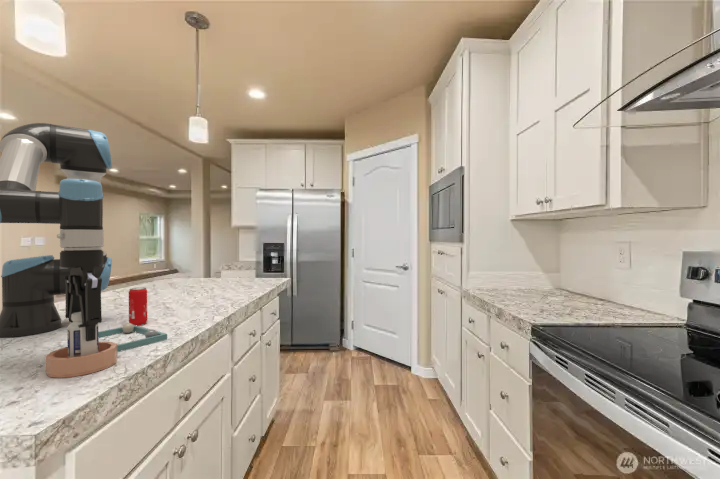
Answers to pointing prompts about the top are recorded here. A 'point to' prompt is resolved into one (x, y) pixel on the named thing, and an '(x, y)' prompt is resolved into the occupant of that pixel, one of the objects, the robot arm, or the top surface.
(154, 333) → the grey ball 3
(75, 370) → the bowl
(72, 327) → the pill bottle
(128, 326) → the pebble
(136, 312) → the beverage can
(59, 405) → the top surface
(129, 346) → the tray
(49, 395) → the top surface
